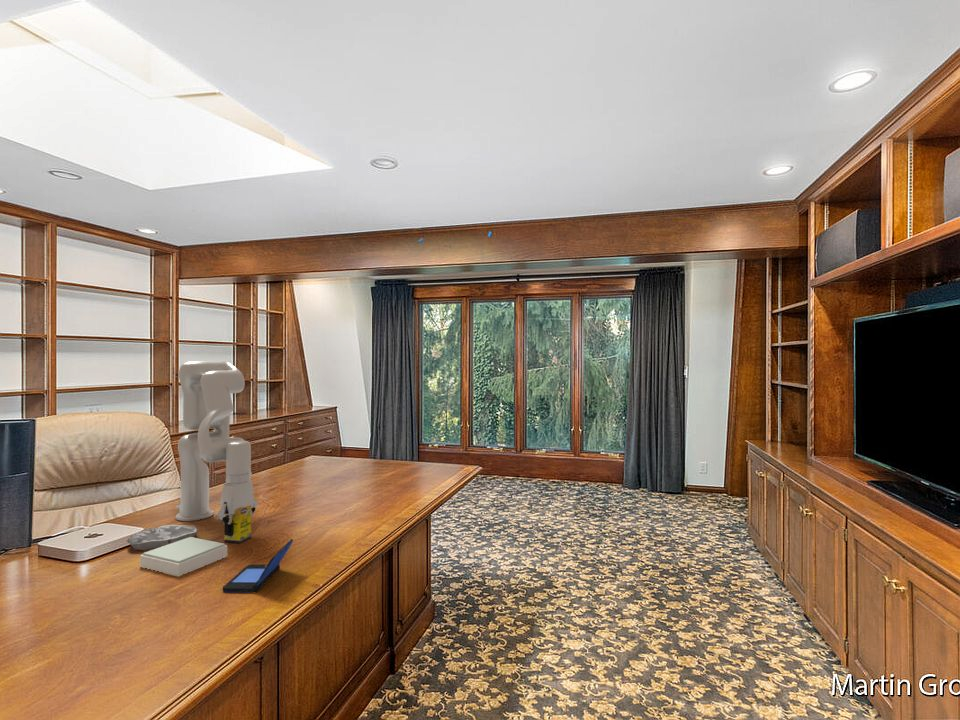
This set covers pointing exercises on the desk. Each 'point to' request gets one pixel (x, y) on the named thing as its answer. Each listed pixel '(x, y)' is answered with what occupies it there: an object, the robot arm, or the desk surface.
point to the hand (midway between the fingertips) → (238, 531)
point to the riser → (183, 556)
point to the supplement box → (240, 525)
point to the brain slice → (161, 536)
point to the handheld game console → (256, 574)
